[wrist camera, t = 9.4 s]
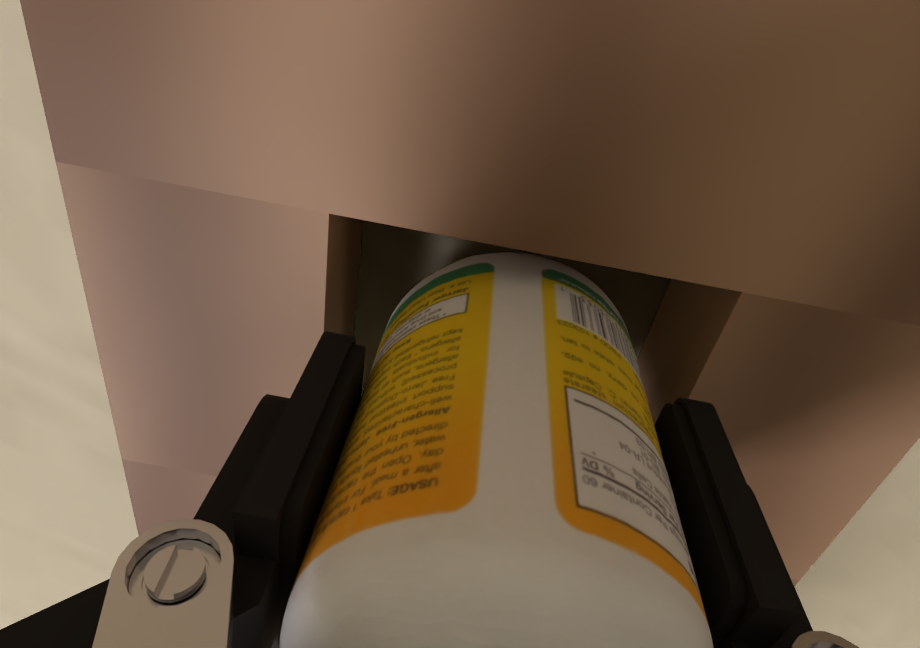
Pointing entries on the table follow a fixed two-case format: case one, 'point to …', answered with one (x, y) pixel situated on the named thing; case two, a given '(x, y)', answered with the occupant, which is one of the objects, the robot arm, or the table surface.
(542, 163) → the socket block
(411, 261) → the table surface
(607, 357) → the supplement bottle
